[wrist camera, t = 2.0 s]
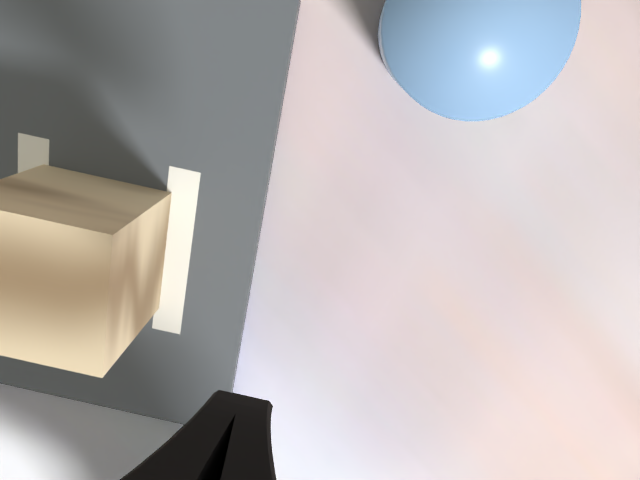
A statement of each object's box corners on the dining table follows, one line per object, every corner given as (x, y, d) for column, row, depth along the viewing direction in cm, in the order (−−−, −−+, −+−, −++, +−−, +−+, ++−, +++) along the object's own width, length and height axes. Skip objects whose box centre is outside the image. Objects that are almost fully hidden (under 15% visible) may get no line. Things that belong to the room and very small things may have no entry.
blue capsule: (489, 112, 19) (541, 138, 13) (364, 85, 19) (363, 100, 13) (531, -26, 17) (611, -64, 12) (396, -55, 17) (410, -107, 12)
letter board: (226, 425, 24) (223, 433, 24) (-158, 339, 24) (-168, 345, 24) (300, 1, 18) (298, -1, 18) (-213, -111, 18) (-229, -115, 18)
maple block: (158, 308, 22) (102, 378, 17) (40, 282, 22) (-49, 344, 17) (171, 192, 20) (112, 234, 15) (43, 164, 20) (-55, 198, 16)
